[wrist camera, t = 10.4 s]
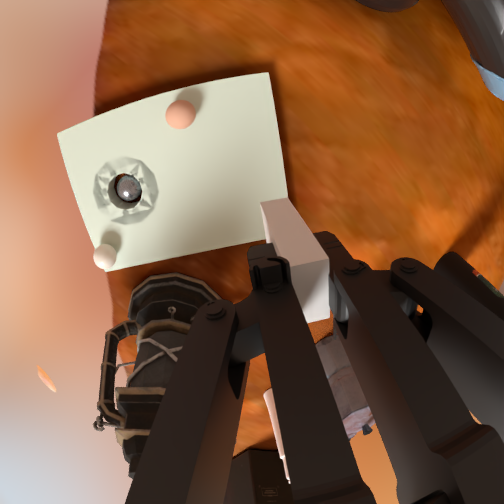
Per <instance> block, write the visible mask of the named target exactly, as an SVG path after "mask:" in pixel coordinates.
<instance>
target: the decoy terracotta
mask: <svg viewBox="0 0 504 504" xmlns="http://www.w3.org/2000/svg"><path fill="white" fill-rule="evenodd" d="M165 117H166V121H167V123H168V124H169V125H170V126H171V127H173V128H175V129H184V128H187V127H189V126H190V125H191V124H192V123H193V122H194V120H195V117H196V110H195V108H194V106H193V105H192V104H191V103H190V102H188V101H186V100H177V101H175V102H173V103H171V104H170V105H169V106H168V108H167V110H166V114H165Z"/></svg>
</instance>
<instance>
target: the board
mask: <svg viewBox="0 0 504 504" xmlns="http://www.w3.org/2000/svg"><path fill="white" fill-rule="evenodd" d="M177 100H186V101H188V102H190V103H191V104H192V105H193V106H194V108H195V110H196V117H195V120H194V122H193V123H192V124H191V125H190V126H189V127H187V128H184V129H175V128H173V127H171V126H170V125H169V124H168V123H167V121H166V117H165V114H166V110H167V108H168V106H169V105H170V104H171V103H173V102H175V101H177ZM57 136H58V140H59V144H60V148H61V152H62V156H63V159H64V163H65V166H66V169H67V173H68V176H69V179H70V182H71V186H72V189H73V192H74V194H75V198H76V201H77V204H78V206H79V209H80V212H81V214H82V217H83V220H84V223H85V225H86V228H87V230H88V233H89V235H90V238H91V240H92V243H93V245H94V247H95V249H96V248H97V247H98V246H100V245H102V244H108V245H111V246H112V247H113V248H114V249H115V251H116V254H117V259H116V262H115V264H114V265H113V266H112V267H111V268H109V269H104V270H105V272H108V271H113V270H117V269H122V268H127V267H131V266H136V265H141V264H146V263H150V262H155V261H160V260H165V259H170V258H174V257H179V256H184V255H189V254H194V253H199V252H204V251H209V250H214V249H218V248H223V247H228V246H233V245H238V244H243V243H248V242H253V241H258V240H263V239H266V236H265V230H264V224H263V218H262V212H261V206H260V202H265V201H270V200H276V199H281V198H287V197H288V193H287V185H286V178H285V171H284V164H283V157H282V150H281V144H280V137H279V131H278V124H277V118H276V112H275V106H274V100H273V94H272V89H271V83H270V78H269V72H266V73H258V74H251V75H244V76H238V77H232V78H226V79H221V80H216V81H211V82H206V83H201V84H197V85H193V86H189V87H184V88H180V89H177V90H173V91H169V92H166V93H162V94H159V95H155V96H152V97H149V98H145V99H142V100H139V101H136V102H133V103H130V104H127V105H124V106H122V107H119V108H116V109H113V110H111V111H108V112H105V113H103V114H100V115H98V116H95V117H93V118H91V119H88V120H86V121H84V122H81V123H79V124H77V125H75V126H72V127H70V128H68V129H66V130H64V131H62V132H60V133H58V134H57ZM122 173H126V174H130V175H133V176H134V177H135V178H136V179H137V180H138V181H139V182H140V185H141V188H142V196H141V200H140V201H138V202H134V203H128V202H124V201H122V200H121V199H120V198H119V197H118V196H117V195H116V192H115V188H114V183H115V178H116V177H117V175H119V174H122Z"/></svg>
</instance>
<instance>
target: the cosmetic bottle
mask: <svg viewBox="0 0 504 504" xmlns="http://www.w3.org/2000/svg"><path fill="white" fill-rule="evenodd" d="M264 399H265V401H266V404H267V407H268V410H269V414H270V417H271V421H272V425H273V430H274V434H275V438H276V443H277V447H278V451H279V455H280V458H281V459H283V463H284V468H285V473H286V478H287V479H288V480H289V484H290V479H289V474H288V469H287V464H286V459H285V454H284V449H283V444H282V438H281V433H280V428H279V423H278V418H277V413H276V408H275V402H274V397H273V392H272V388H270V389H268V390H267V391H266V392H265V393H264Z"/></svg>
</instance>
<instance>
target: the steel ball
mask: <svg viewBox="0 0 504 504" xmlns="http://www.w3.org/2000/svg"><path fill="white" fill-rule="evenodd" d="M141 191H142V188H141V185H140V182H139V181H138V180H137V179H136V178H135V177H134V176H133V175H125V176H123V177H122V178H121V179H120V180H119V182H118V184H117V192H118V195H119V196H120V197H121V198H122V199H124V200H127V201H131V200H134V199H136V198H137V197H138V196H139V195H140V193H141Z"/></svg>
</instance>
